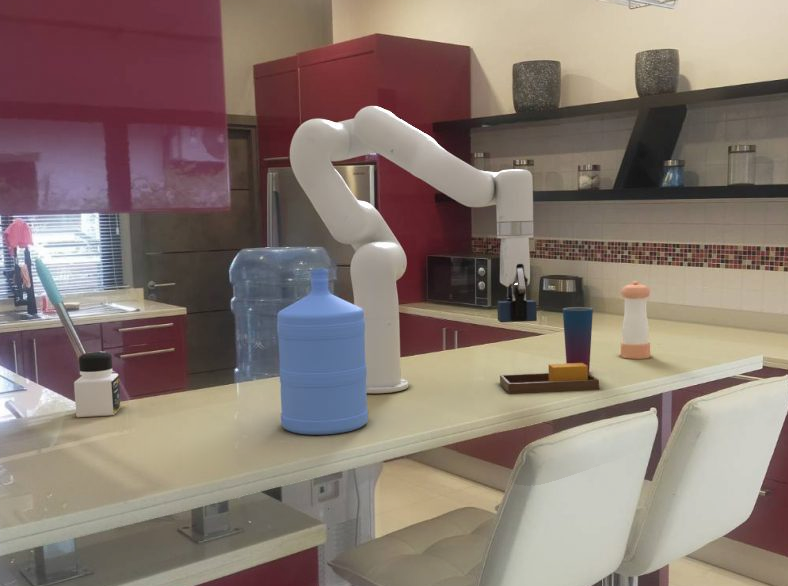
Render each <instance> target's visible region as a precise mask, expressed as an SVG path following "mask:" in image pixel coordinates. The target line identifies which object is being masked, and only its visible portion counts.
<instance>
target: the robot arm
mask: <svg viewBox="0 0 788 586" xmlns="http://www.w3.org/2000/svg"><path fill="white" fill-rule="evenodd" d="M374 153H377V154H378V155H380V156H382V157H383V158H385V159H387V160H389V161H390V162H392V163H394V164H395V165H396V166H398V167H400V168H401V169H403V170H405V171H407V172H408V173H410V174H411V175H412V176H414V177H416V178H418V179H420V180H421V181H423V182H425V183H426V184H428V185H429V186H431V187H433V188H434V189H435V190H437V191H439V192H441V193H443V194H444V195H446V196H447V197H449V198H450V199H452V200H453V201H454V200H455V201H456V202H457V203H459V204H461V205H464V206H465V207H468V208H483V207H485V208H486V207H490V206H496V207H495V210H496V239H500V245H499V246H500V247H499V249H500V250H499V283H500V284H501V285H503V286H505V287H506V301H511V320H512V321H523V320H527V301H526V300H527V287H528V286H529V285H530V282H531V260H530V255H531V254H530V239H529V238H534V186H533V185H534V180H533V174H532V173H531V171H530V170H527V169H504V170H500V171H498V172H493V171H484V170H481V169H478V168H476V167H474V166H472V165H470V164H469V163H467V162H465V161H463V160H462V159H461V158H459V157H457V156H455V155H454V154H452V153H450V152H449V151H447V150H446V149H445V148H443V147H442V146H441V145H440V144H438V142H437V141H436V140H435V139H434V138H433V137H431V136H430V135H428V134H427V133H424V132H423V131H421V130H419V129H418V128H416V127H414V126H412V125H411V124H409V123H408V122H406V121H404V120H403V119H400V118H399V117H398V116H396V114H394V113H392V111H390V110H387V109H384V108H382V107H380V106H377V105H369V106H368V105H367V106H365V107H362V108H360V110H358V111H357V112H356V114H355V115H354V118H350V119H345V120H342V121H338V122H334V121H332V120H328V119H325V118H311V119H309V120H306V121H304V122H303V123H301V124H300V126H299V127H298V128H297V129H296V130H295V132H294V134H293V136H292V139H291V142H290V146H289V162H290V166H291V169H292V172H293V174H294V177H295V178H296V180H297V182H298V184H299V186H300V187H301V189H302V190H303V192H304V193H305V195H306V196H307V198H308V200H309V201H310V203H311V204H312V207H313V208H314V210H315V211H316V212H317V214H318V216H319V217H320V218H321V220H322V222H323V223H324V225H325V226H326V229H327V230H328V231H329V233H330V235H331V236H332V237H333V239H334V240H335V241H336V242H339V243H341V244H344V245H351V247H352V249H353V250H354V251H355V252H354V254H353V256H352V258H351V261H350V266H349V267H350V269H349V270H350V271H349V272H350V279H351V287H352V293H353V304H354V305H356V306H358V307H360V308H362V309H363V311H364V319H365V363H366V368H367V377H366V393H367V394H390V393H396V392H401V391H403V390H407V389H408V388H409V381H408V380H407V379H404V378H402V368H401V367H402V365H401V337H400V336H401V335H400V334H401V332H400V331H401V328H400V306H399V304H400V303H399V294H398V288H397V281H398V280H400V279H401V278H402V277H403V275H404V274H405V272H406V270H407V264H408V261H407V255H406V252H405V250H404V248H403V247H402V245H401V243H400V242H399V240H398V239H397V237H396V236H395V234H394V233H393V231H392V229H391V228H390V227H389V225H388V224H387V222H386V221H385V219H384V217H383V216H382V214H381V213H380V212H379V211H378V209H376V207H374V205H372V204H371V203H370V202H367V201H365V200H360V199H359V200H358V198H357V197H356V196H355V195H354V193H353V192H352V190H351V189H350V188H349V186H348V185H347V183H346V181H345V180H344V178H343V176H342V175H341V174H340V173H339V172H338V170H337V169H336V168H335V167H334V164H333V163H332V162H341V161H347V160H350V159H353V158H358V157H362V156H366V155H367V156H368V155H371V154H374Z"/></svg>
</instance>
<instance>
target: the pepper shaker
mask: <svg viewBox="0 0 788 586" xmlns="http://www.w3.org/2000/svg"><path fill="white" fill-rule="evenodd" d="M620 294H621V296H622V297H623V298H624V311H623V312H624V313H623V314H624V315H623V321H622V327H621V335H622V336H621V338H622V339H621V340H622V341H621V342H620V357H621V358H624V359H629V360H630V359H632V360H633V359H634V360H640V359H649V358H650V357H651V342H650V341H649V339H650V337H649V336H650V328H649V320H648V315H647V313H648V312H647V307H648V306H647V298H648V297H649V296H650V294H651V291H650V289H649V287H648V286H647V285H644V284H640V282H639V281H638V280H634V281H632V284H627V285H625V286H623V287H622V288H621V292H620Z"/></svg>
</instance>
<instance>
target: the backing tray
mask: <svg viewBox="0 0 788 586" xmlns="http://www.w3.org/2000/svg"><path fill="white" fill-rule="evenodd" d="M499 384H500V386H501V387H502V388H503V389H504V390H505V391H506V392H507V394H524V393H525V394H528V393H549V392H550V393H552V392H569V391H570V392H571V391H574V392H575V391H593V390H594V391H595V390H596V391H597V390H600V380H599V379H598V378H597V377H595V376H594V375H592V374H590V372H589V373H588V380H577V381H554V382H549V372H539V373H537V372H536V373H517V374H516V373H515V374H500V375H499Z"/></svg>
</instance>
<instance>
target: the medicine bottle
mask: <svg viewBox="0 0 788 586" xmlns="http://www.w3.org/2000/svg"><path fill="white" fill-rule="evenodd" d="M112 358H113V357H112V354H111V353H109V352H107V351H91V352H85V353H82V354H81V355H79V357H78V366H79V367H78V368H79V375H80V377H79V378H77V379H76V380H75V381H74V382H73V389H74V402H75V414H76V415H75V416H76V417H77V418H93V417H106V416H109V417H110V416H115V414H116V413H118V411H119V410H120V409H121V407H122V406H121V405H122V403H121V391H120V375H119V373H115V372H113V371H114V370H113V359H112Z"/></svg>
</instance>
